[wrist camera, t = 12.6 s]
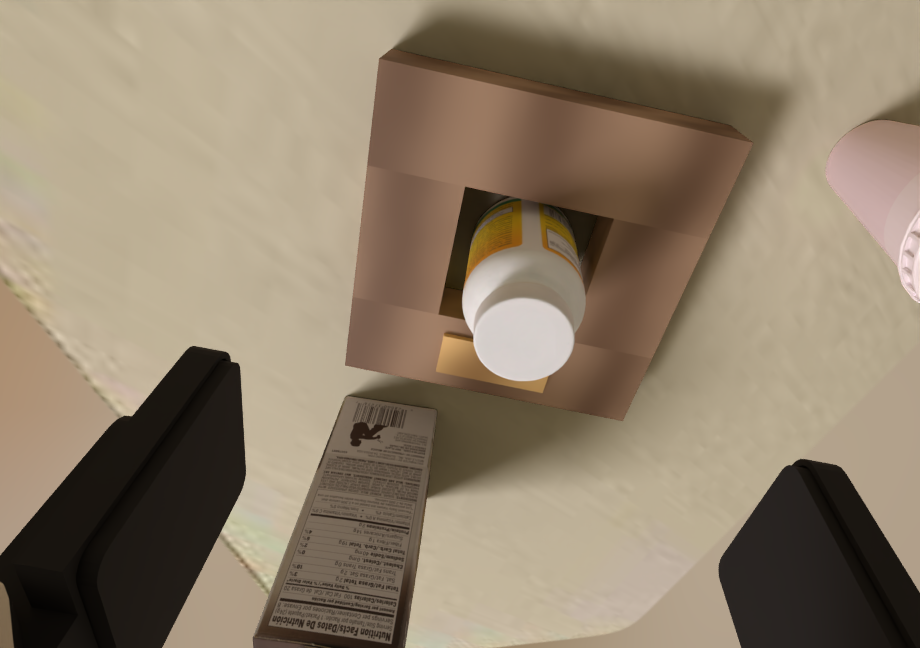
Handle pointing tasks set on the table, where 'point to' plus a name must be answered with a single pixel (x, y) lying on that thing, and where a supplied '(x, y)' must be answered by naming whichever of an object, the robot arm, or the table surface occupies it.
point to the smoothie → (883, 189)
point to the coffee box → (356, 534)
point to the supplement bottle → (523, 289)
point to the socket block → (540, 180)
